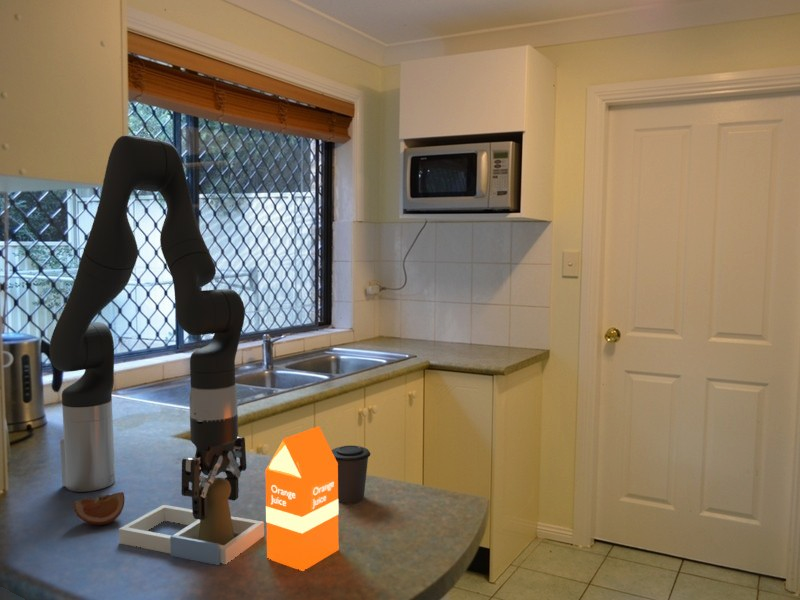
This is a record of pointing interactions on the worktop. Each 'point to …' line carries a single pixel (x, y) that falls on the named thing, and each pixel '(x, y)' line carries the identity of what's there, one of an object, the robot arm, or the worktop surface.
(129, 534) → the white flat rectangular frame
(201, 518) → the robot arm
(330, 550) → the orange juice
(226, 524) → the olive rounded piece
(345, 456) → the coffee cup
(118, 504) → the fruit slice
